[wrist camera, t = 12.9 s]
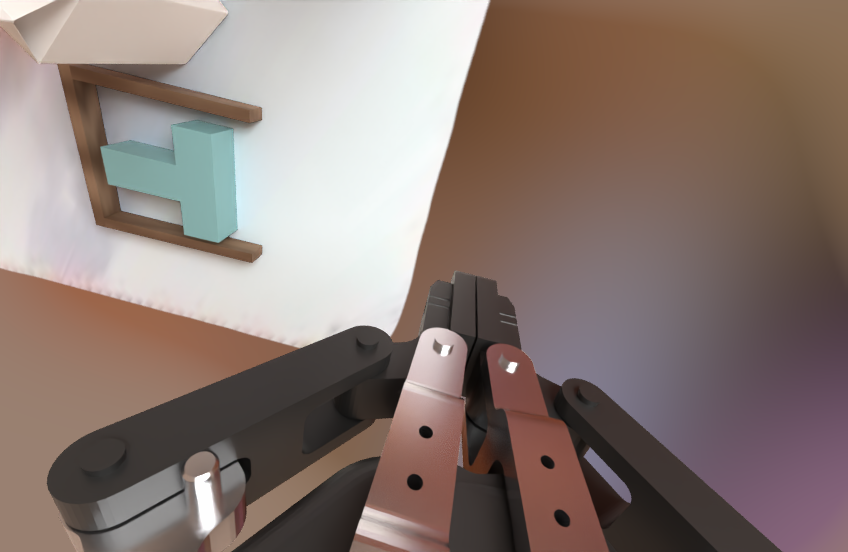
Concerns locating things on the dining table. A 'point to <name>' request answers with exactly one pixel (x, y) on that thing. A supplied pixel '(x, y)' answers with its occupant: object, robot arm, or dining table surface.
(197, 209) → the T-block
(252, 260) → the bay
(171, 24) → the milk carton
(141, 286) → the dining table surface
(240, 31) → the dining table surface
